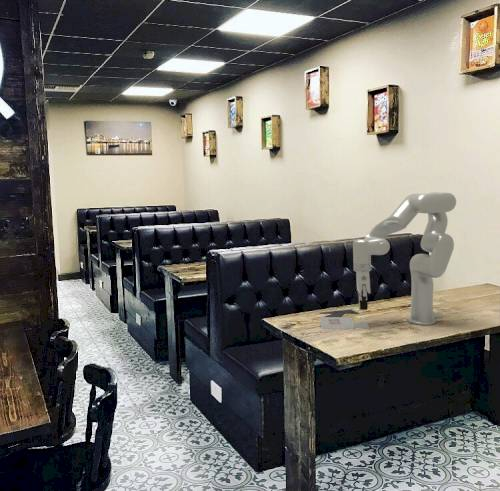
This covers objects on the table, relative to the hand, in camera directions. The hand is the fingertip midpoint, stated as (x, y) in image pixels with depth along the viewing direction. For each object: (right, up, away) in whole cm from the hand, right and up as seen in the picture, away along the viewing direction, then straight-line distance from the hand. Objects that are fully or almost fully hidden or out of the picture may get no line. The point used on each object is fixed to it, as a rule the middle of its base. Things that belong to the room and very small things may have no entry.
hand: (363, 307), depth 224 cm
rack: (-9, -9, +2) cm, 13 cm away
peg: (0, -1, 0) cm, 1 cm away
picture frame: (-6, -8, +22) cm, 24 cm away
